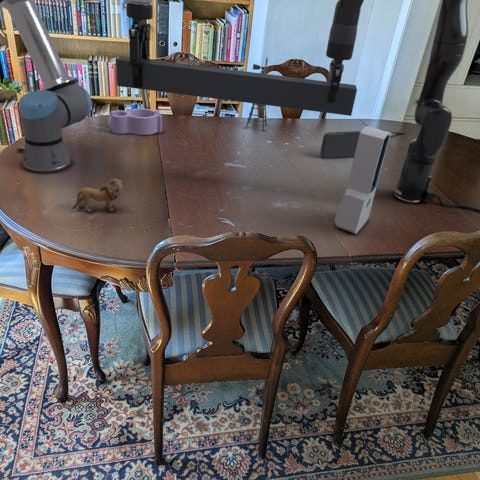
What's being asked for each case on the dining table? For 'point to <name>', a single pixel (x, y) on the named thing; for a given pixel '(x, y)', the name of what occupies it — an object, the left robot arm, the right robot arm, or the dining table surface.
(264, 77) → the bar
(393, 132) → the sword
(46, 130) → the left robot arm
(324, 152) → the handheld gaming console
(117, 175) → the dining table surface
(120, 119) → the purple lobed container
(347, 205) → the electronic device
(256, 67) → the miniature windmill
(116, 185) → the lion figurine
